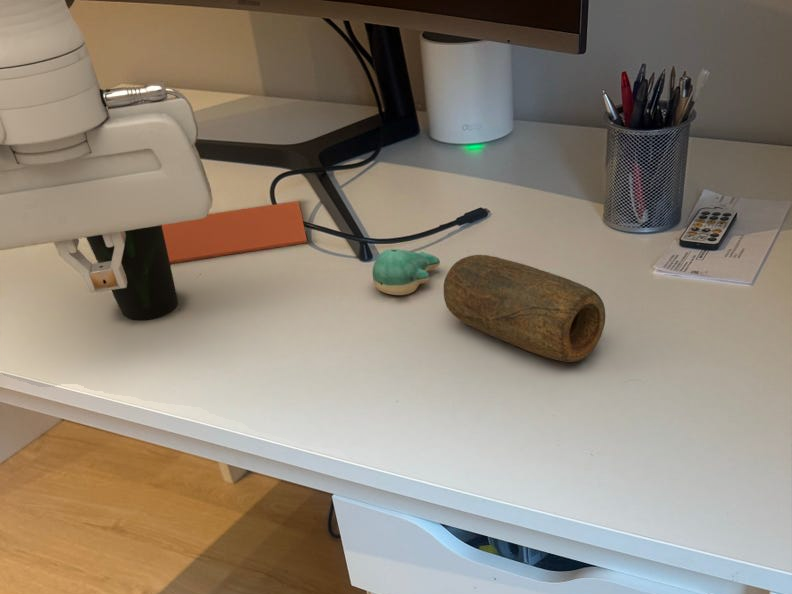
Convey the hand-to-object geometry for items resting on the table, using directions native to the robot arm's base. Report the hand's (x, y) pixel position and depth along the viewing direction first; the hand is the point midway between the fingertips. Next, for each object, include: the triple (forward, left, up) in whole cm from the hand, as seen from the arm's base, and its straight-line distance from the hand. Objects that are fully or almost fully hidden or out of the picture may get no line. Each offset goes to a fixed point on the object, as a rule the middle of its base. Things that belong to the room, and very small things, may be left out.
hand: (109, 288), depth 74 cm
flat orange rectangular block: (+7, +30, -8) cm, 32 cm away
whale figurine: (+26, +10, -8) cm, 29 cm away
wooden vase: (+34, -5, -8) cm, 35 cm away
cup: (0, +14, -8) cm, 16 cm away
